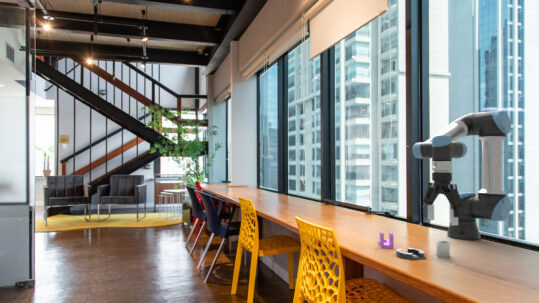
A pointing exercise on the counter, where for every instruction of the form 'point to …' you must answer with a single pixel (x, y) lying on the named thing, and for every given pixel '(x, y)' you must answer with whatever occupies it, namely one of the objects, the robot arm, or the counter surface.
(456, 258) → the counter surface
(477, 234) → the robot arm
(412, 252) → the barrel ring
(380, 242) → the bracket
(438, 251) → the grey cylinder
